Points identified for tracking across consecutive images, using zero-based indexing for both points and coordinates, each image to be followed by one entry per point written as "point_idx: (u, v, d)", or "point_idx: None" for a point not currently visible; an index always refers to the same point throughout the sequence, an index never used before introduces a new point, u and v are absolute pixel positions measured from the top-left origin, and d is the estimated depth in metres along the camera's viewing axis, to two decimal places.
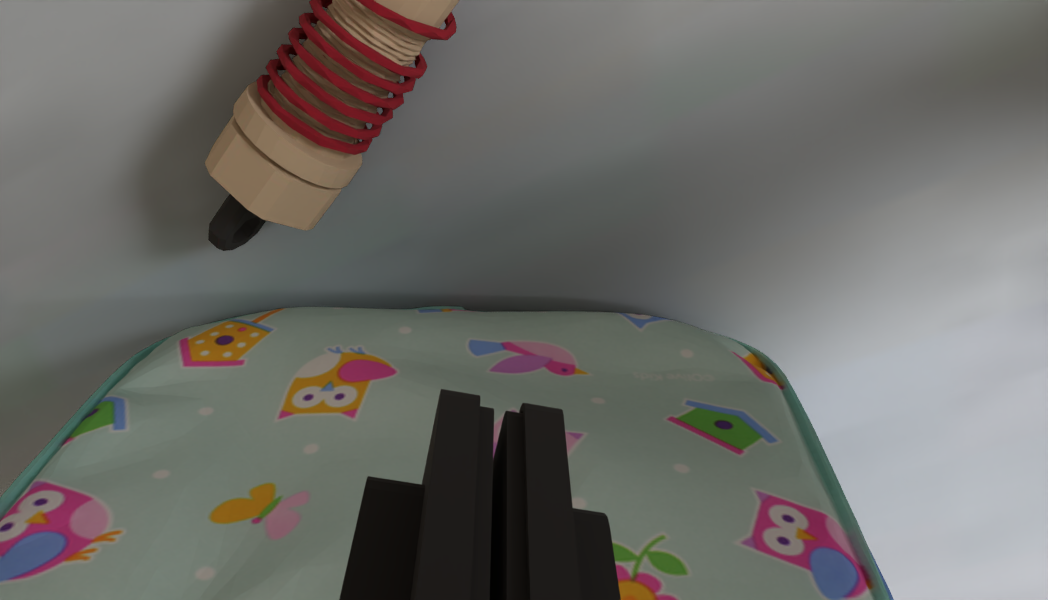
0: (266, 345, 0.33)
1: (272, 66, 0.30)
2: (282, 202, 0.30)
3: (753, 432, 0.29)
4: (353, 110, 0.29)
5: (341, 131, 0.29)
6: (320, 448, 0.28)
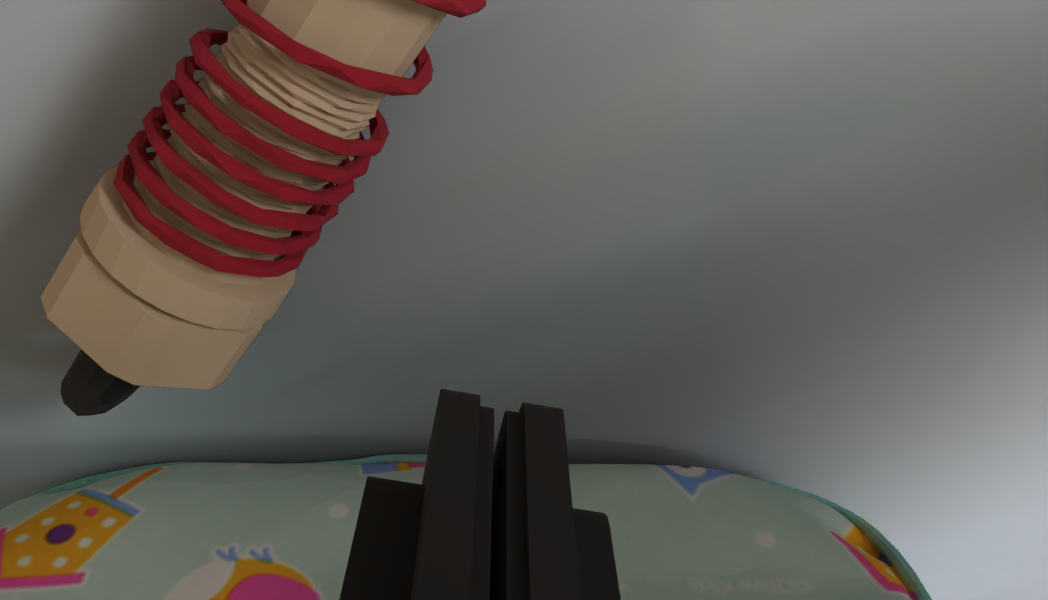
0: (122, 544, 0.21)
1: (137, 144, 0.18)
2: (163, 357, 0.19)
3: None
4: (267, 214, 0.18)
5: (250, 247, 0.18)
6: None
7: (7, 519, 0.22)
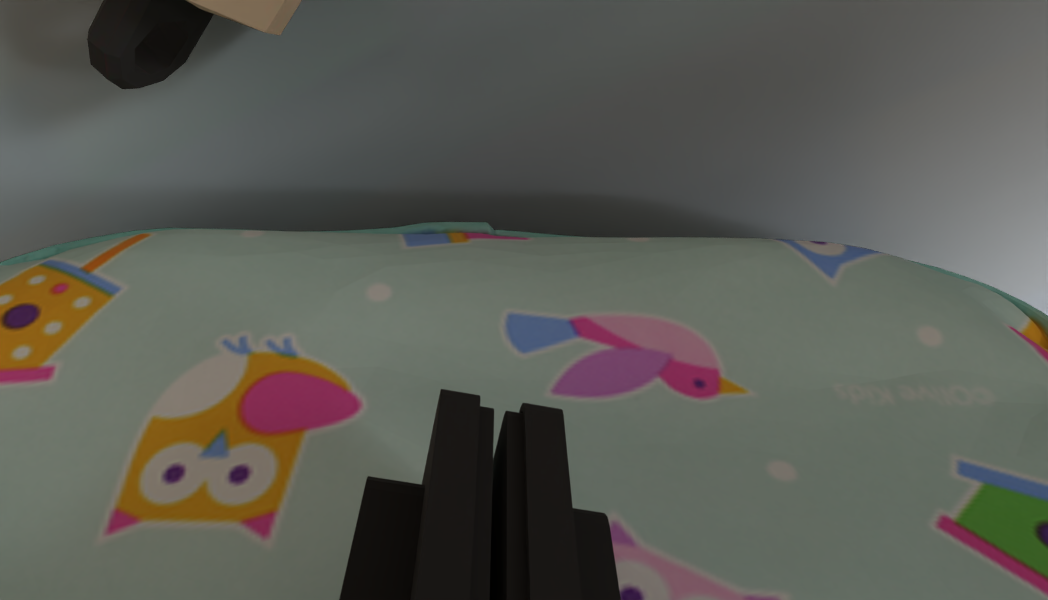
0: (101, 330, 0.16)
1: None
2: None
3: None
4: None
5: None
6: None
7: None
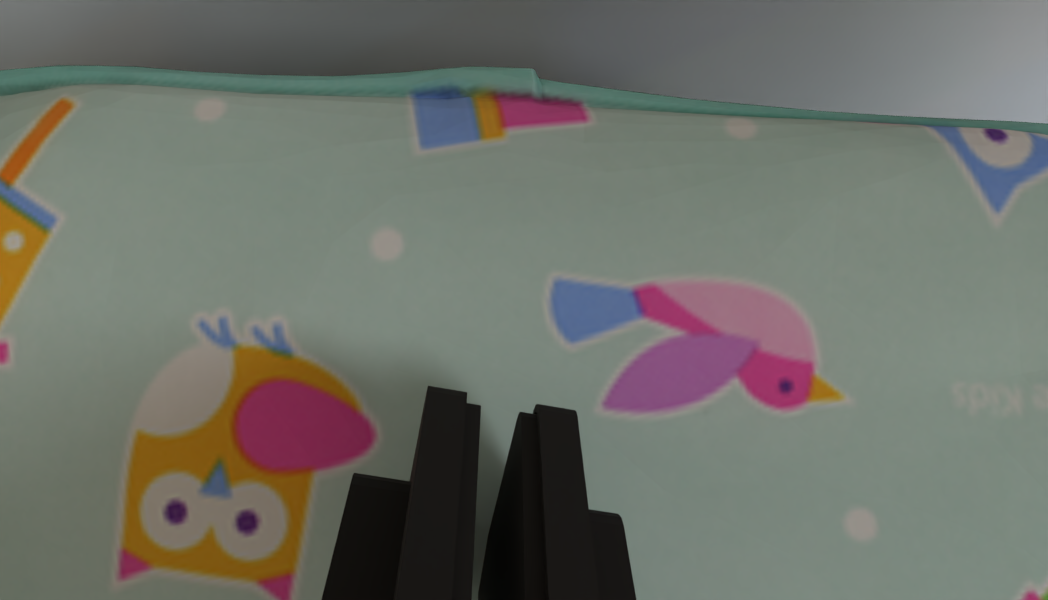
0: (48, 291, 0.13)
1: None
2: None
3: None
4: None
5: None
6: None
7: None
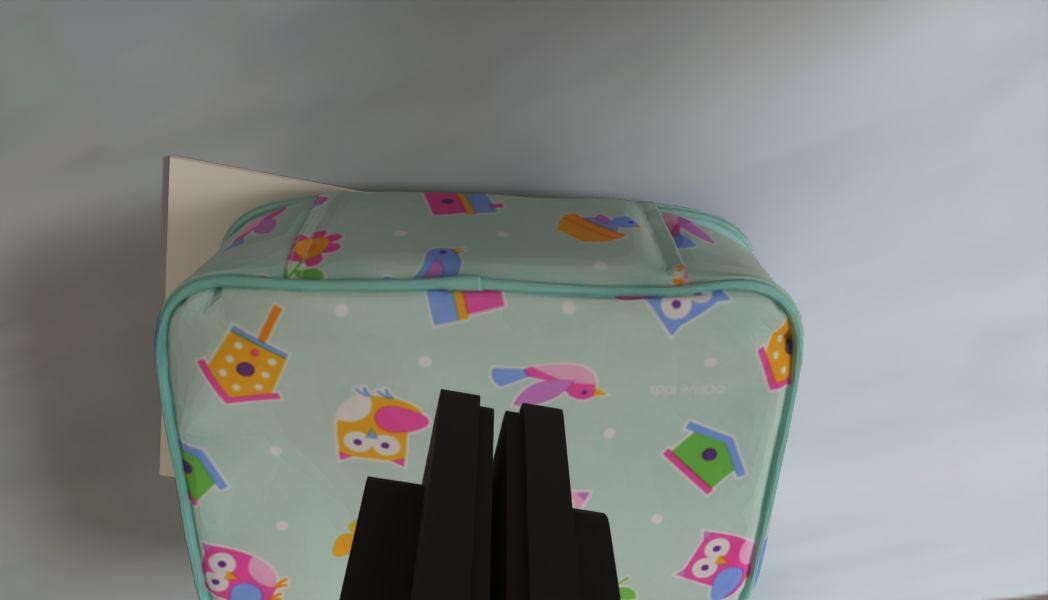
0: (291, 377, 0.33)
1: None
2: None
3: (729, 464, 0.36)
4: None
5: None
6: None
7: (195, 345, 0.33)
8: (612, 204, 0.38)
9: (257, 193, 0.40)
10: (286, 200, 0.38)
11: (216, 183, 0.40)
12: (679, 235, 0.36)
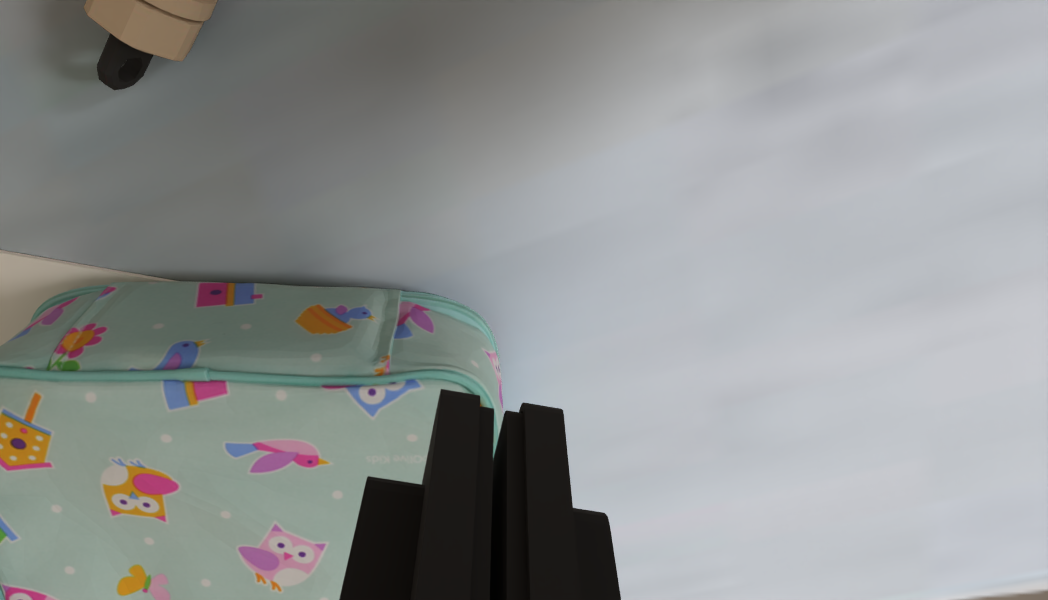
0: (57, 450, 0.39)
1: None
2: (147, 31, 0.37)
3: None
4: None
5: None
6: (154, 541, 0.43)
7: None
8: (359, 294, 0.44)
9: (65, 279, 0.47)
10: (82, 289, 0.45)
11: (28, 271, 0.46)
12: (403, 325, 0.42)
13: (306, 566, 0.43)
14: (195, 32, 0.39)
